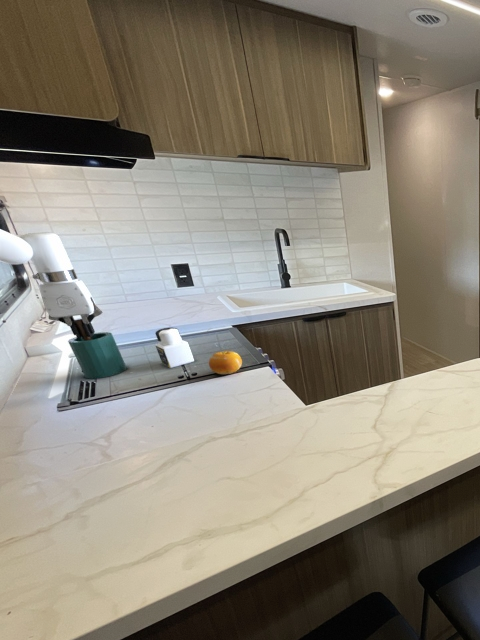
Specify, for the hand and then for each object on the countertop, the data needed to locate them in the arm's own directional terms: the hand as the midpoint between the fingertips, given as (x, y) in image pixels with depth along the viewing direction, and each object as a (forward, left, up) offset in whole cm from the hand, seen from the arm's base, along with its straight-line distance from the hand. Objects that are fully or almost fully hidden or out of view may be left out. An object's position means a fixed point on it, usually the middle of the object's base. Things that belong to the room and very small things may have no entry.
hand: (85, 335), depth 126 cm
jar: (+2, 0, -12) cm, 12 cm away
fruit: (+43, 0, -13) cm, 44 cm away
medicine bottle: (+20, +8, -13) cm, 25 cm away
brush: (0, 0, -9) cm, 9 cm away
